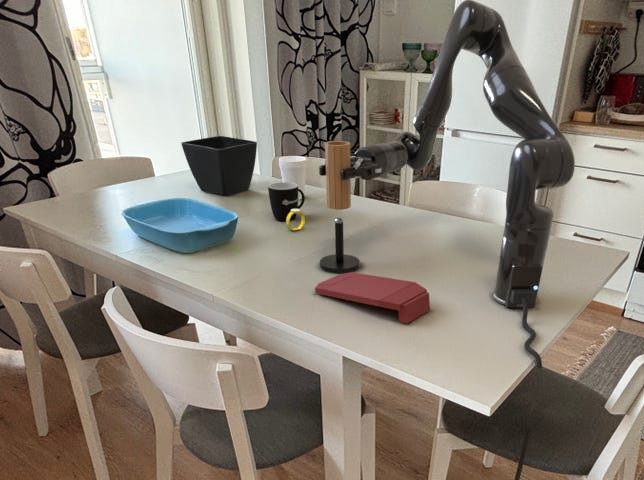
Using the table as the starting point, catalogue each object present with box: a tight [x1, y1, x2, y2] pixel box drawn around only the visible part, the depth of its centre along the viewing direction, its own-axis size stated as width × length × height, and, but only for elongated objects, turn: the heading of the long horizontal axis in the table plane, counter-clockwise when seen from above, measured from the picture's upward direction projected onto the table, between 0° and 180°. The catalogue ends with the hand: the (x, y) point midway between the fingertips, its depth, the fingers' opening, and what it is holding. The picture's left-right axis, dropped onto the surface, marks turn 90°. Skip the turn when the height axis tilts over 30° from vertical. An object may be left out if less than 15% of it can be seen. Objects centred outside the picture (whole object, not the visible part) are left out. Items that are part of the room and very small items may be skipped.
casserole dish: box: [121, 197, 239, 254], centre depth 145 cm, size 37×22×7 cm, turn 49°
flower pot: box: [180, 135, 258, 197], centre depth 186 cm, size 19×19×17 cm
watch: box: [285, 208, 306, 232], centre depth 152 cm, size 6×3×6 cm, turn 134°
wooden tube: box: [324, 140, 352, 211], centre depth 119 cm, size 6×6×14 cm
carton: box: [314, 271, 431, 324], centre depth 114 cm, size 12×5×25 cm
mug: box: [267, 181, 305, 223], centre depth 161 cm, size 12×9×10 cm
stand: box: [319, 217, 361, 274], centre depth 127 cm, size 10×10×12 cm
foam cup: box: [278, 155, 308, 200], centre depth 180 cm, size 10×9×13 cm
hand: (331, 173), depth 117 cm, fingers closed on wooden tube, 5 cm apart
